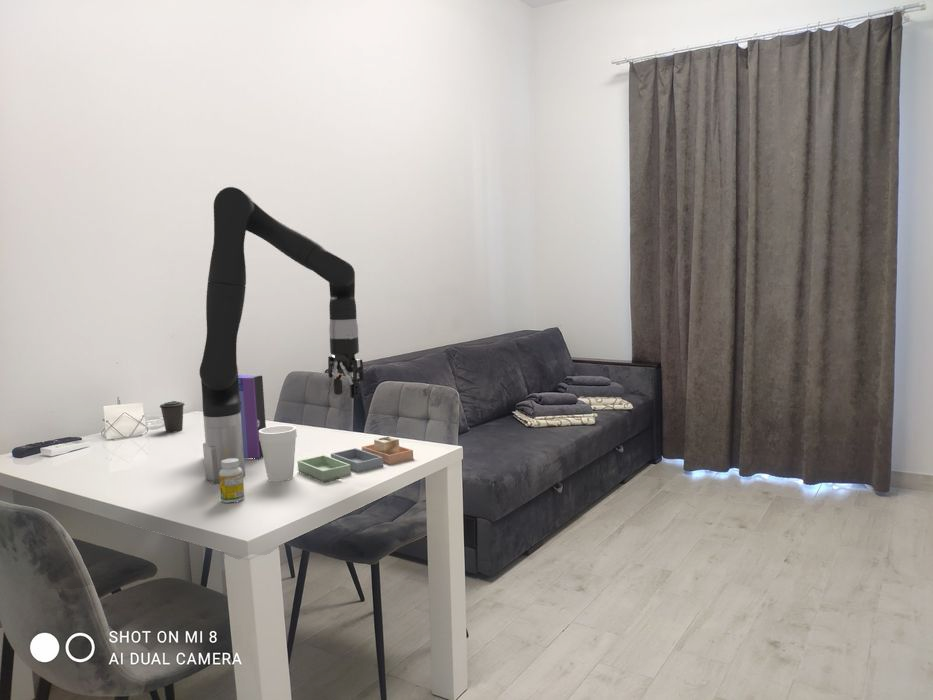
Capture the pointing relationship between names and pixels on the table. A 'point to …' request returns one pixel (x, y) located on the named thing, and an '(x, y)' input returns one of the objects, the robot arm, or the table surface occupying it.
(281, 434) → the foam cup
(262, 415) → the cereal box
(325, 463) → the sage tray
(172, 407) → the coffee cup
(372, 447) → the terracotta tray
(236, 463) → the supplement bottle
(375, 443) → the letter cube
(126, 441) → the table surface
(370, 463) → the slate tray
